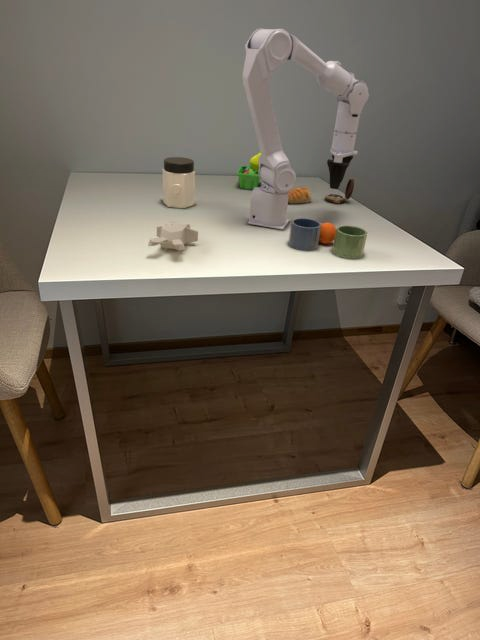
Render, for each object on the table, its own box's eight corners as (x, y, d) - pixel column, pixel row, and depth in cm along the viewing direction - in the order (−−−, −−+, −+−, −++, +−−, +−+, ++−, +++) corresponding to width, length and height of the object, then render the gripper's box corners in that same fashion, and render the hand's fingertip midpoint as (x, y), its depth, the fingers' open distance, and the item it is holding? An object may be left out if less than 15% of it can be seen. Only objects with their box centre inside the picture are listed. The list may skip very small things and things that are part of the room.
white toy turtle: (202, 221, 109) (188, 236, 96) (201, 242, 111) (187, 260, 98) (162, 217, 110) (143, 231, 96) (162, 238, 112) (143, 255, 98)
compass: (323, 197, 149) (327, 174, 146) (347, 199, 149) (352, 176, 146) (326, 204, 142) (330, 180, 139) (352, 206, 142) (357, 182, 139)
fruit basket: (240, 180, 160) (242, 146, 154) (266, 183, 159) (269, 148, 153) (235, 189, 150) (238, 152, 144) (263, 192, 149) (266, 155, 144)
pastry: (290, 206, 138) (292, 193, 136) (275, 200, 143) (276, 187, 141) (312, 202, 144) (314, 189, 142) (297, 196, 148) (298, 184, 146)
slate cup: (285, 247, 110) (288, 225, 107) (291, 237, 116) (294, 216, 113) (315, 252, 108) (319, 230, 106) (319, 242, 114) (323, 221, 111)
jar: (160, 206, 129) (159, 162, 123) (165, 198, 136) (165, 155, 130) (192, 209, 129) (193, 165, 123) (196, 201, 136) (197, 158, 130)
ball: (321, 220, 115) (318, 239, 117) (313, 223, 111) (311, 243, 113) (340, 222, 113) (338, 242, 115) (334, 225, 109) (331, 246, 111)
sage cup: (330, 255, 108) (334, 232, 105) (334, 245, 113) (338, 223, 111) (361, 261, 106) (366, 238, 103) (363, 250, 112) (368, 228, 109)
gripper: (358, 137, 112) (348, 194, 119) (363, 129, 124) (353, 181, 131) (329, 134, 114) (320, 189, 121) (336, 126, 126) (328, 177, 133)
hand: (335, 185), depth 126 cm, fingers open, 7 cm apart
